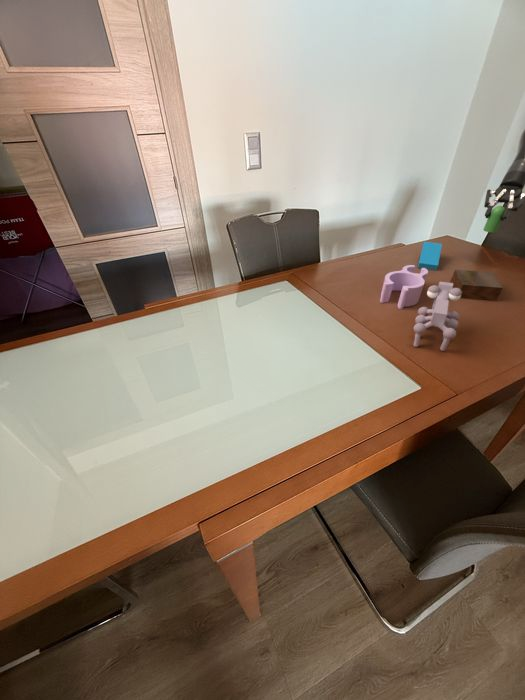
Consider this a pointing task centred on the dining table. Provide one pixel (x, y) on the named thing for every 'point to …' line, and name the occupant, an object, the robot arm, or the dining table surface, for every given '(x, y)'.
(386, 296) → the clip
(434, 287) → the mauve bug toy
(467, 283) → the walnut block
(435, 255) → the blue rectangular brick
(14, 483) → the dining table surface
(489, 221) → the green toy
